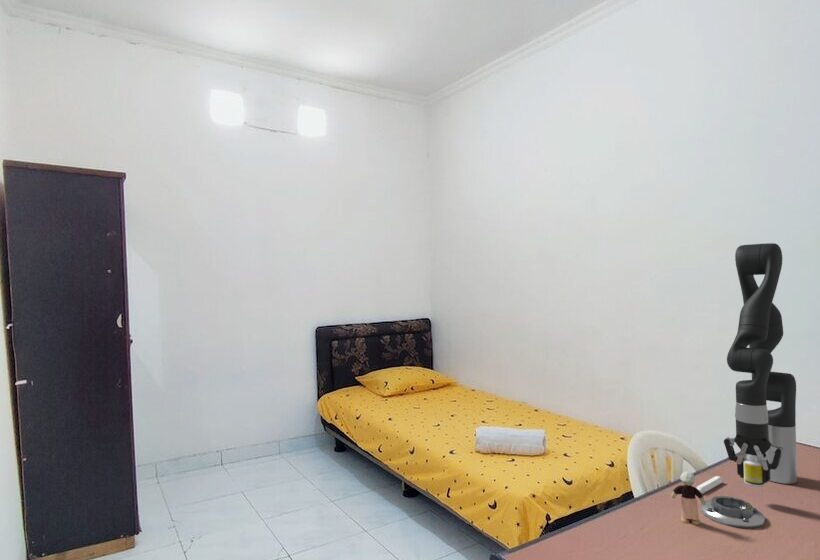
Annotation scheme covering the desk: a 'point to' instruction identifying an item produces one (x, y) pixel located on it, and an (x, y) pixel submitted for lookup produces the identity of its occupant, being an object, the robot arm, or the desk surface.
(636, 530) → the desk surface
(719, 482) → the white pencil
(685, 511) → the grandmother figurine
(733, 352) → the robot arm
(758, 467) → the supplement bottle
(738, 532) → the desk surface
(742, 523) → the hub plate
